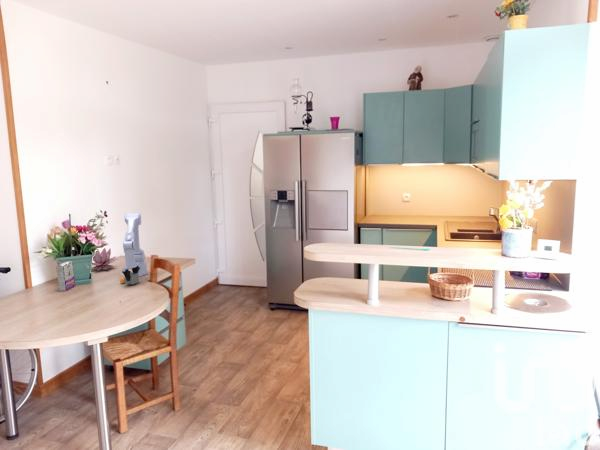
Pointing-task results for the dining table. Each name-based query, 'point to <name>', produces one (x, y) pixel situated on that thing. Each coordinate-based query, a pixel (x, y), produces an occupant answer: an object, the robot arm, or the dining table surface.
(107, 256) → the decorative flower
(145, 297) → the dining table surface
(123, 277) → the ball
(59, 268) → the candy bar box
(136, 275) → the grey cube
